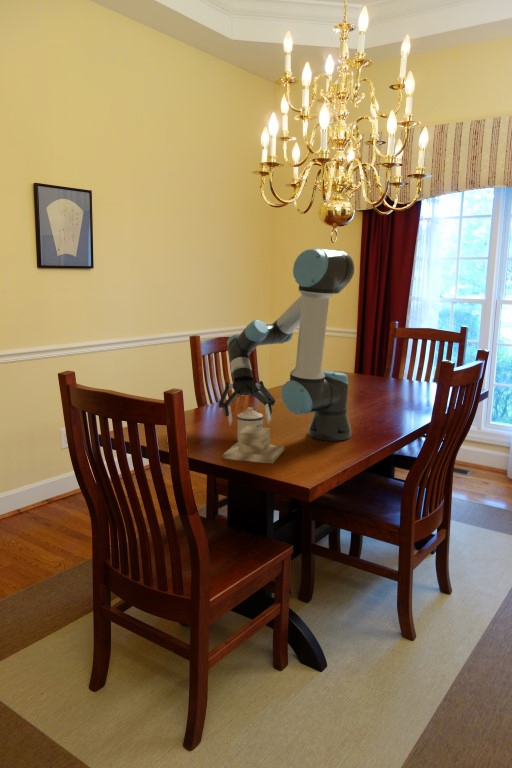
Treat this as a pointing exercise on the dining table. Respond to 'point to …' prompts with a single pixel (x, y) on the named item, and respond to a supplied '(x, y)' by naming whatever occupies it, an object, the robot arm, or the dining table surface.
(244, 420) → the teacup with lid
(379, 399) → the dining table surface
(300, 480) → the dining table surface
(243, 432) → the stone pedestal
